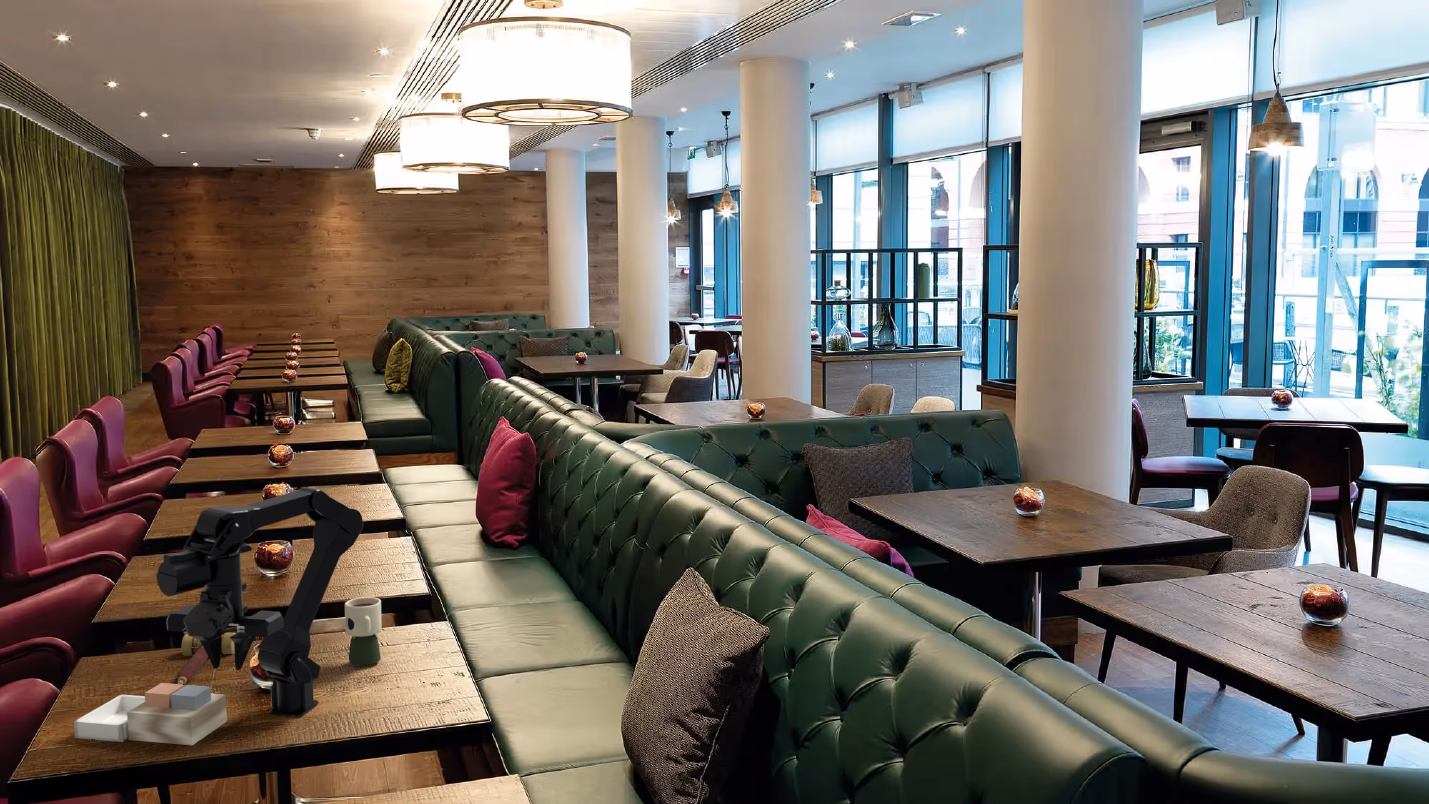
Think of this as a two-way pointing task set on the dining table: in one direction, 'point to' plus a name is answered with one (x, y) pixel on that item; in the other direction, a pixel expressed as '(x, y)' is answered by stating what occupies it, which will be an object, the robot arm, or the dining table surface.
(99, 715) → the box
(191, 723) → the wooden square block
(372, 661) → the character mug
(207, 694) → the slate tile
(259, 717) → the dining table surface
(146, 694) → the terracotta tile
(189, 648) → the gavel
